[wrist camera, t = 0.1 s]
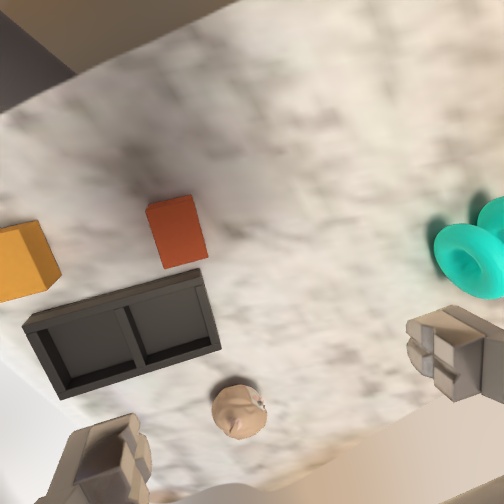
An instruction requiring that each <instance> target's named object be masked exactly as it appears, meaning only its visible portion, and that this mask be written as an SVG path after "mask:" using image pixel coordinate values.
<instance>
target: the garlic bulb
mask: <svg viewBox="0 0 504 504" xmlns="http://www.w3.org/2000/svg"><path fill="white" fill-rule="evenodd" d="M212 416H213V419H214V421H215V423H216V425H217V426H218V427H219V428H220V429H221V430H223V431H224V433H225V434H226V435H227V436H229V437H232V438H235V439H238V440H240V439H244V438H248V437H251V436H253V435H255V434H257V433H258V432H259V431H260V430H261V429H262V428H263V427H264V426H265V424H266V420H267V411H266V409H265V405H263V399H262V398H261V397H260V395H259V394H258V392H257V391H256V390H254V389H253V388H251V387H249V386H244V385H235V386H232V387H227V388H224V389H223V390H222V391H221V392H220V393H219V394H218V396H217V397H216V398H215V400H214V402H213V404H212Z"/></svg>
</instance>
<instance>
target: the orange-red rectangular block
mask: <svg viewBox="0 0 504 504" xmlns="http://www.w3.org/2000/svg"><path fill="white" fill-rule="evenodd" d="M145 212H146V215H147V218H148V221H149V224H150V227H151V230H152V233H153V236H154V240H155V243H156V246H157V249H158V252H159V255H160V258H161V261H162V264H163V267H164V269H168V268H171V267H175V266H179V265H182V264H186V263H190V262H194V261H197V260H201V259H205V258H208V257H209V256H208V253H207V249H206V245H205V242H204V238H203V234H202V230H201V227H200V223H199V219H198V215H197V212H196V208H195V204H194V201H193V198H192V195H187V196H183V197H179V198H174V199H170V200H166V201H162V202H157V203H153V204H149V205H148V207H147V209H146V211H145Z"/></svg>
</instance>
